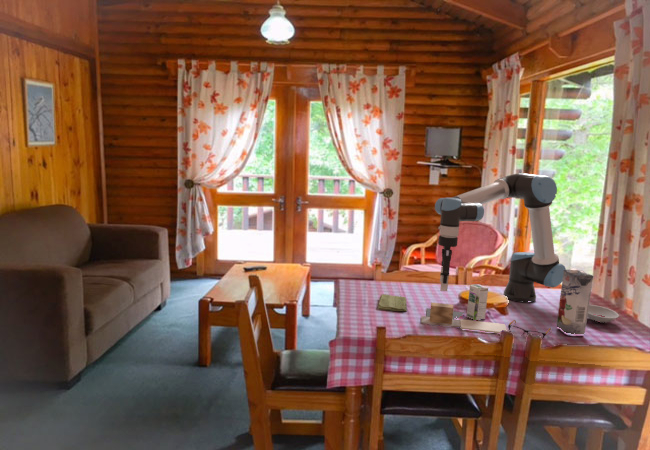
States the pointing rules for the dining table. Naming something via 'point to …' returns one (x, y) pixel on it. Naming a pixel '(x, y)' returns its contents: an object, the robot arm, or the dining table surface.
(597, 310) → the dish
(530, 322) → the dining table surface
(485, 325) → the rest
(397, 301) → the washcloth
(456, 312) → the mat
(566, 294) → the juice carton
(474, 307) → the syrup box
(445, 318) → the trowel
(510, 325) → the eyeglasses
